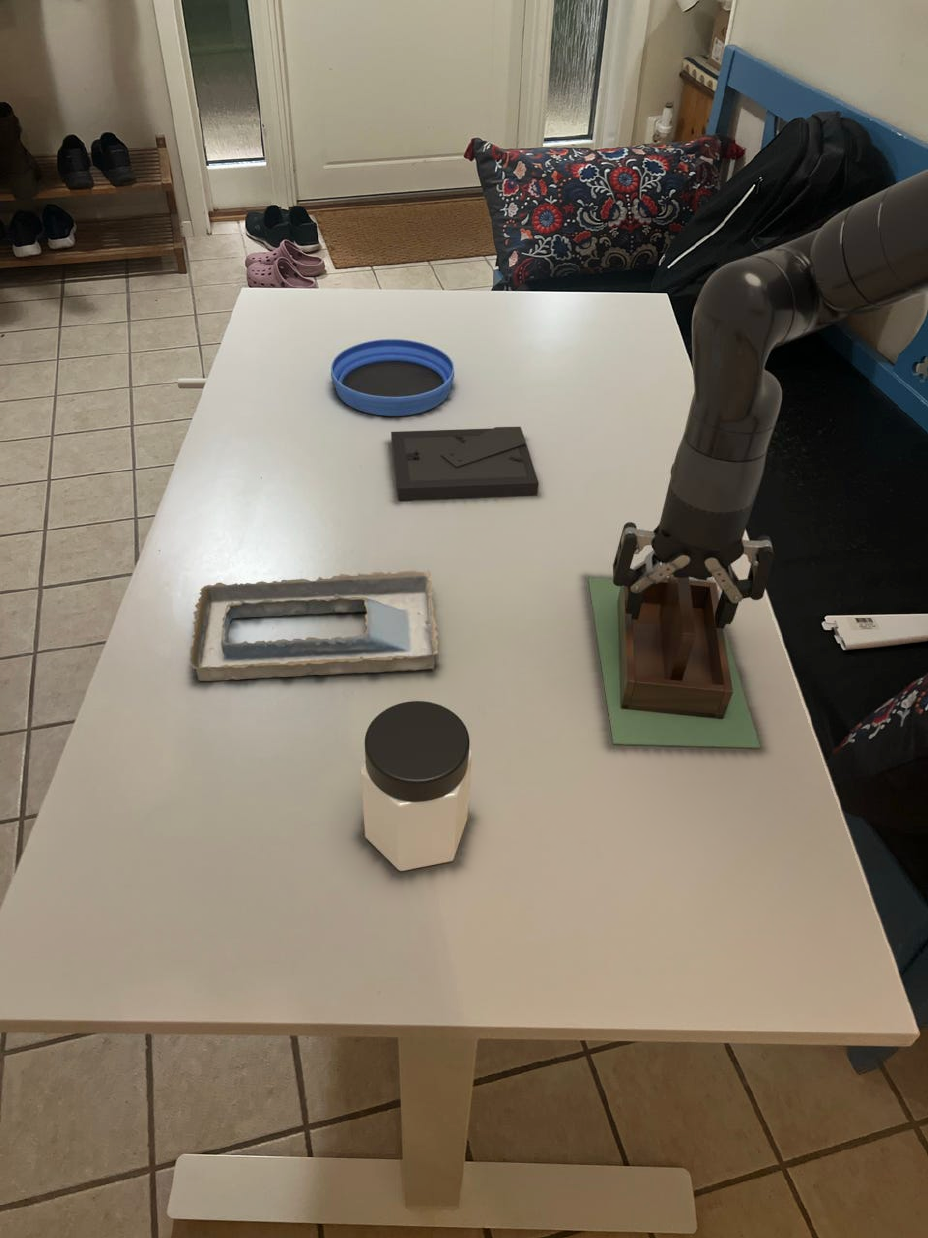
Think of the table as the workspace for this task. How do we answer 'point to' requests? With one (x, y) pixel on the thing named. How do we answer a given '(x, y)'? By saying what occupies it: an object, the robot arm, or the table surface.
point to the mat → (654, 725)
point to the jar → (416, 783)
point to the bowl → (392, 377)
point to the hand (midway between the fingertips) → (676, 618)
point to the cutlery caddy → (674, 651)
